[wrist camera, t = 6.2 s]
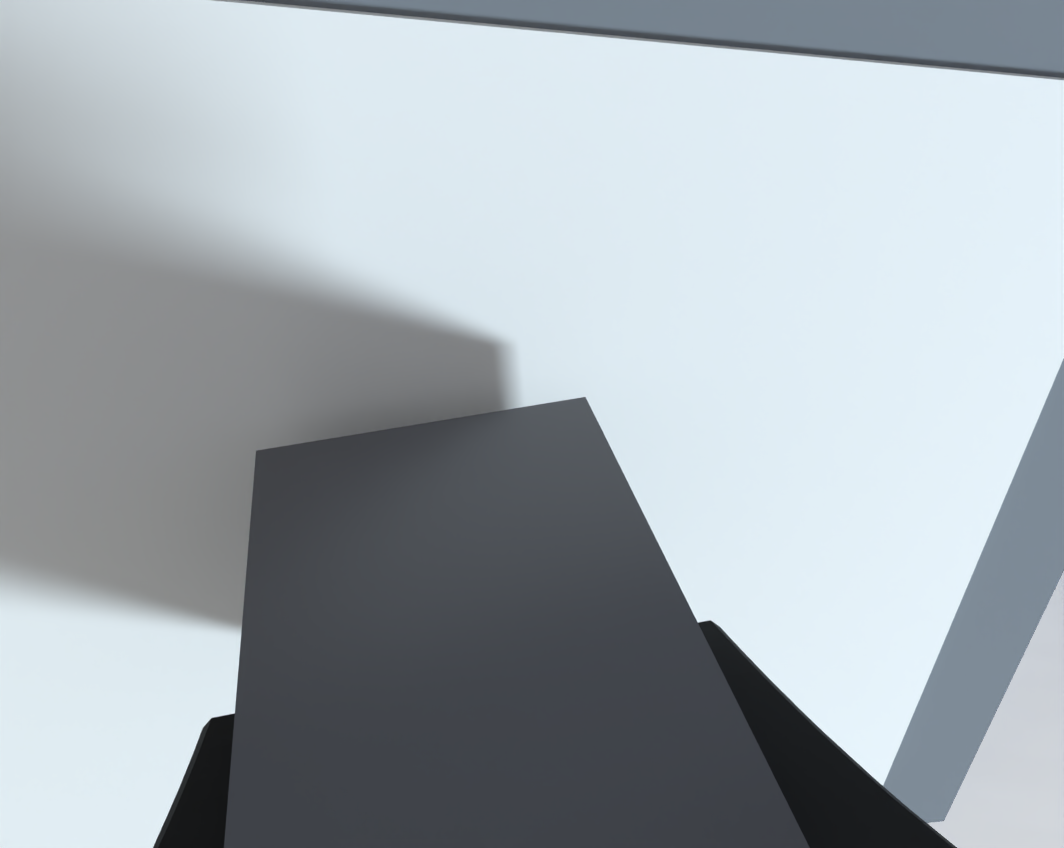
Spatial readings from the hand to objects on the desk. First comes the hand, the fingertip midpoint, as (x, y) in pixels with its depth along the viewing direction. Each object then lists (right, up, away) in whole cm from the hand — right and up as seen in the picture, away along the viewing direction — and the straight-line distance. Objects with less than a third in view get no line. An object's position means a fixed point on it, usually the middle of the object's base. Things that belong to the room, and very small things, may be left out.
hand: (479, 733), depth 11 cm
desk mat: (-1, +2, +4) cm, 4 cm away
